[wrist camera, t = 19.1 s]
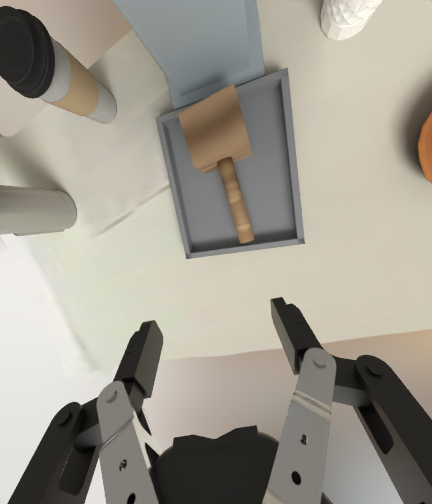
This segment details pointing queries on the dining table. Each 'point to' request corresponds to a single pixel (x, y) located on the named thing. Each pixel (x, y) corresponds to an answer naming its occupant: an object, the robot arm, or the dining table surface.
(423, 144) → the pie
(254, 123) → the tray
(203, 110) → the mallet
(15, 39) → the coffee cup
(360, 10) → the white cup
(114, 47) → the dining table surface
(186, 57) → the pedestal
